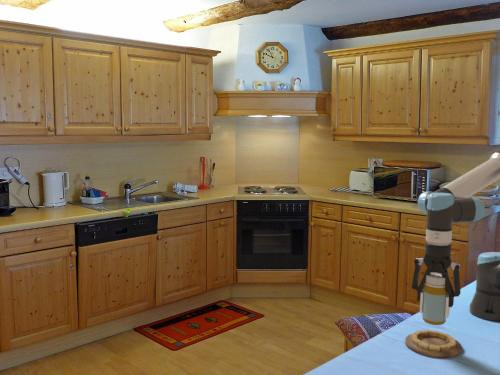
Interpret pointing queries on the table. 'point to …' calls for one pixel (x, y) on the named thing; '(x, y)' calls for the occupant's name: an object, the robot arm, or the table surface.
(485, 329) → the table surface
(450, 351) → the ring tray
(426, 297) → the bottle
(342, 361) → the table surface
